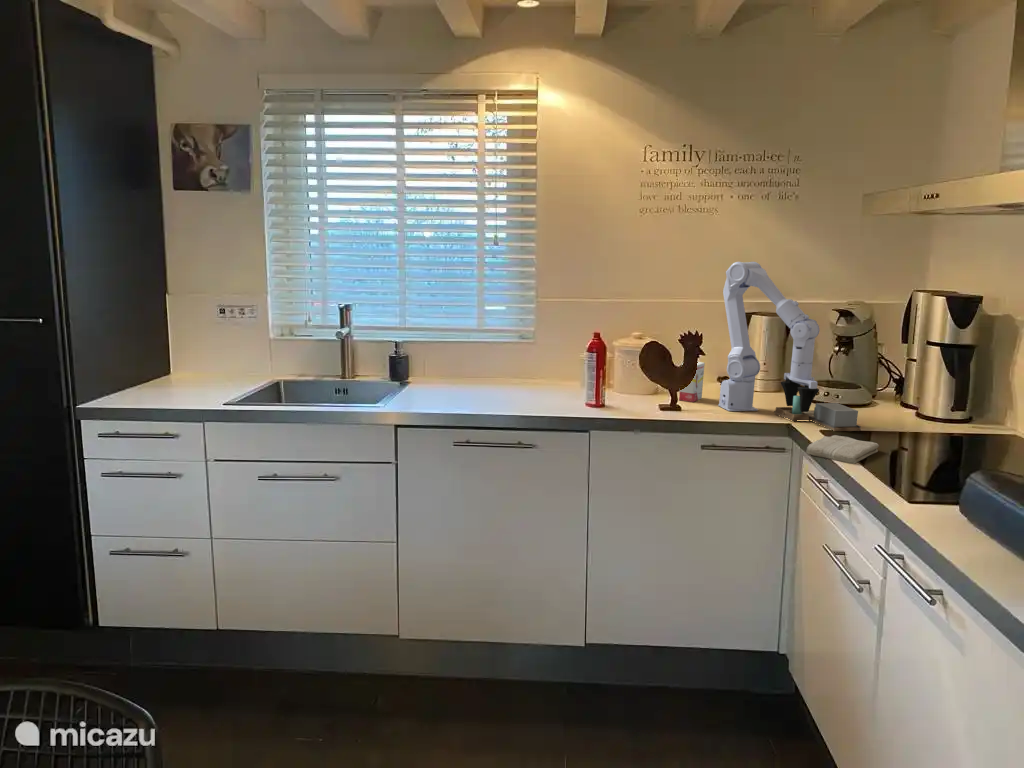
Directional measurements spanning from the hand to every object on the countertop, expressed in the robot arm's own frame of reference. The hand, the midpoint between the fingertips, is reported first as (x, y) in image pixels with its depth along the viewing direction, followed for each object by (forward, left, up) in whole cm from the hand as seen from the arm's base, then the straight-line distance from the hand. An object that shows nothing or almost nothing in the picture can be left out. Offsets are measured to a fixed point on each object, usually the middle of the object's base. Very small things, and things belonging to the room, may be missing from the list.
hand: (797, 408), depth 234 cm
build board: (0, +3, -3) cm, 4 cm away
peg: (0, 0, -2) cm, 2 cm away
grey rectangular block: (+7, -8, -3) cm, 11 cm away
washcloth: (-7, -35, -4) cm, 35 cm away
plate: (+7, -3, -3) cm, 8 cm away
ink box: (-20, +29, -3) cm, 35 cm away
